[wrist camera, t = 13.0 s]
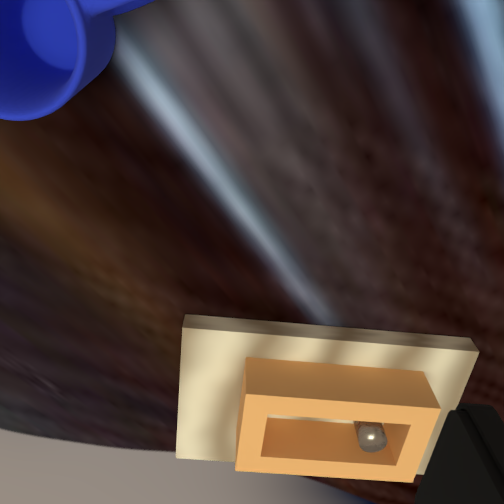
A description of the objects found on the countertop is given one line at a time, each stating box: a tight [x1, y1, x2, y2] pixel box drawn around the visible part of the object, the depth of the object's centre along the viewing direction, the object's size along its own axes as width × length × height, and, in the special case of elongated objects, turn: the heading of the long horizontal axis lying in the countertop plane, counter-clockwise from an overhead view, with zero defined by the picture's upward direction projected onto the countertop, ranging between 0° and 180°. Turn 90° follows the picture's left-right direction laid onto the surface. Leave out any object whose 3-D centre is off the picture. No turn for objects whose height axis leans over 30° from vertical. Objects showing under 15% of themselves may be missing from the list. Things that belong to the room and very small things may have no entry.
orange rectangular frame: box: [235, 357, 441, 482], centre depth 42 cm, size 16×9×4 cm, turn 84°
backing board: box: [176, 314, 479, 474], centre depth 46 cm, size 26×16×2 cm, turn 84°
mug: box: [0, 0, 155, 121], centre depth 27 cm, size 8×12×10 cm
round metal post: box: [353, 421, 388, 453], centre depth 43 cm, size 2×2×4 cm
